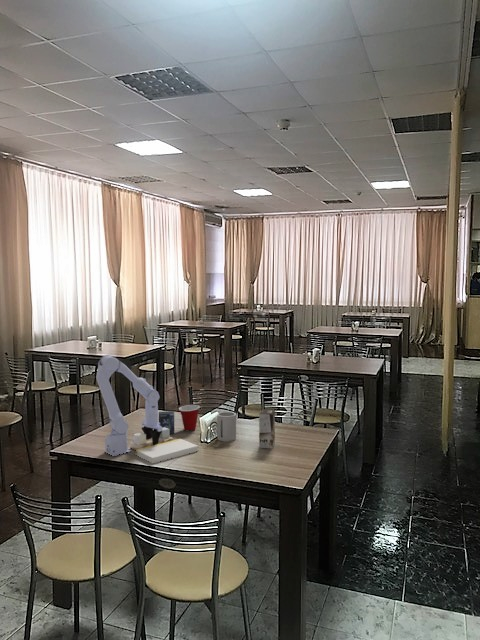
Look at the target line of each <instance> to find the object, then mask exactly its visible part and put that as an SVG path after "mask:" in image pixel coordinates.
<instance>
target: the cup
mask: <svg viewBox="0 0 480 640" xmlns="http://www.w3.org/2000/svg"><path fill="white" fill-rule="evenodd" d="M216 415H217V416H216V420H217V421H216V422H217V428H216V429H217V434H216V435H217V440H218V441H222V442H232V441H235V440H236V439H237V413H236V412H233V411H221V412H218V413H217V414H216Z"/></svg>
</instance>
